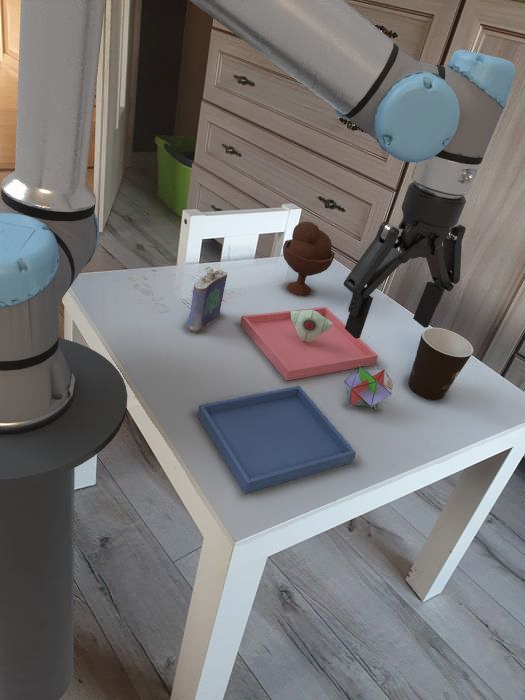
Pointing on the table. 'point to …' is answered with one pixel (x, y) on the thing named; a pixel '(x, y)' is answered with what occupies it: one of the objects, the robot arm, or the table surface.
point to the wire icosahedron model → (369, 387)
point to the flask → (206, 299)
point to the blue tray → (274, 437)
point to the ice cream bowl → (307, 255)
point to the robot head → (309, 324)
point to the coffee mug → (438, 362)
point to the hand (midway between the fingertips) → (387, 328)
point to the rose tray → (306, 345)
